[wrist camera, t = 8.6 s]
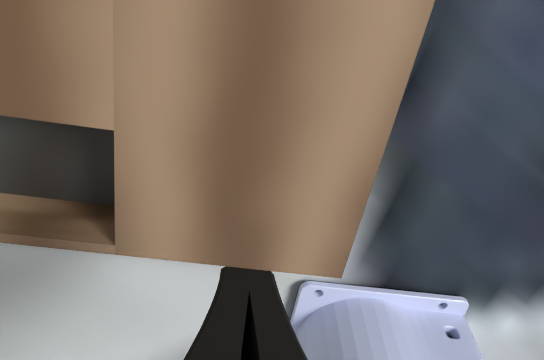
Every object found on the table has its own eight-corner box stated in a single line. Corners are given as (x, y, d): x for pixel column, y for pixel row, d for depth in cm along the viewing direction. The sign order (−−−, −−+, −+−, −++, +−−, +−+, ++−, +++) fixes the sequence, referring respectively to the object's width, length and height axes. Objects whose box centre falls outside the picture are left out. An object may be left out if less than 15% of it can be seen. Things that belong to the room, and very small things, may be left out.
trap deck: (497, -307, 14) (552, -347, 11) (332, 235, 24) (341, 278, 22) (-390, -536, 11) (-578, -654, 9) (-140, 181, 22) (-192, 222, 19)
